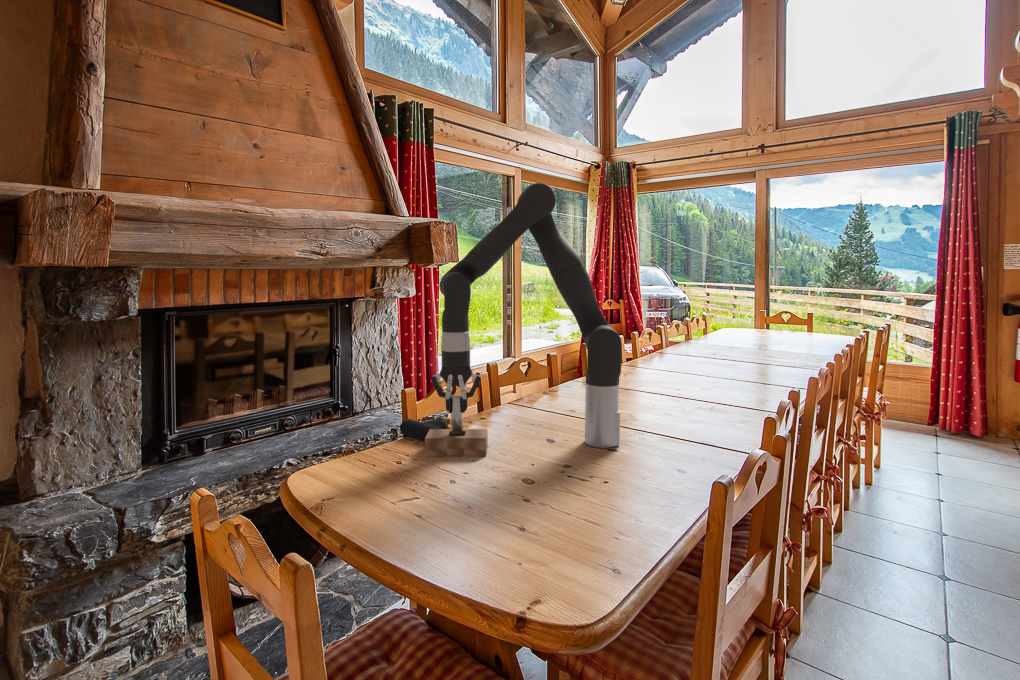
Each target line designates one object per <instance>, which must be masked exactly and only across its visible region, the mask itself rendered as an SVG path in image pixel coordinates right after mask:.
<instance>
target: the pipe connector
mask: <svg viewBox="0 0 1020 680" xmlns="http://www.w3.org/2000/svg"><path fill="white" fill-rule="evenodd" d="M449 425H451V418H447V417H446V418H445V417H444V416H439V417H436V418H433V419H431V420H428V421H424V422H421V421H418V420H414V419H410V418H406V419H404V420H402V421H401V422H400V425H399V431H400V434H401V435H403V436H406V437H408V438H412V439H414V440H419V441H422V442H425V437H426V435H427V433H428V432H429V430H430V429H451V427H449Z"/></svg>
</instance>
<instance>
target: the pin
mask: <svg viewBox="0 0 1020 680" xmlns="http://www.w3.org/2000/svg"><path fill="white" fill-rule="evenodd" d="M450 414H451V415H450V425H451V427H450V428H451V429H452V433H454V434H460V433H462V432H463V429H464V428H463V427H464V425H463V423H464V422H463V419H464V418H463V417H464V416H463V413H462V394H451V413H450Z"/></svg>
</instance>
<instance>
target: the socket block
mask: <svg viewBox="0 0 1020 680" xmlns="http://www.w3.org/2000/svg"><path fill="white" fill-rule="evenodd" d="M488 440H489V438H488V428H463V432H462V433H460V434H454V433H452V429H430V430H429V432H428V433H427V435H426V437H425V441H424V443H425V444H424V452H425V454H424V455H425V457H428V458H429V457H431V458H433V457H439V458H440V457H444V458H445V457H451V458H453V457H454V458H455V457H458V458H459V457H466V458H467V457H487V453H488V442H489V441H488Z"/></svg>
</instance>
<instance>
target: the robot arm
mask: <svg viewBox="0 0 1020 680" xmlns="http://www.w3.org/2000/svg"><path fill="white" fill-rule="evenodd" d="M556 202H557V196H556V193H555V190H554V189H553V188H552V186H550V185H549V184H547V183H544V182H535V183H532V184H530V185H528V186H527V187H526V188H525V189H524V190H523V191H522V192H521V193H520V195H519V197H518V199H517V203H516V205H514V207H513V208H512V210H511V211H510V212H509V213H508V214H507V215H506V216H505V217H504V218H503V219H502V221H500V222H499V223H498V224H497V225H495V227H494V228H493V229H491V230H490V231H489V232H488V233H487V234H485V236H484V237H482V238H481V239H480V241H478V242H477V243H476V245H474V246H473V247H472V248H471V249H470V250H469V251H468V253H467V254H466V255H465V256H464V257H463V258H462V259H461V260H460V261H458V262H457V263H456V264H455V265H454V266H452V267H451V268H450V269H449V270H448V271H447V272H446V273H445V274H443V276H442V277H441V279H440V281H439V291H440V293H441V294H442V296H444V297H443V298H444V299H443V302H444V303H443V304H444V306H443V307H444V308H443V311H442V314H441V315H442V316H441V339H440V341H441V343H440V349H441V370H440V371H439V373H437V374H433V375H432V376H431V377H430V380H431V382H432V384H433V386H434V388H435V391H436V393H437V395H438V397H440V398H444V400H445V411H447V413H450V414H451V395H452V390H453V387H459V389H460V393H461V394H460V395H462V414H464V413H465V412H466V411H467V409H468V399H469V398H472V397H473V396H474V394H475V392H476V390H477V388H478V386H479V384H480V381H481V378H482V376H481V374H476V373H473V371H472V369H471V339H470V330H469V328H470V320H469V318H470V317H469V311H470V305H471V304H470V303H471V295H472V290H471V289H472V288H471V285H473V283H475V282H476V280H477V279H479V278H481V277H483V276H485V275H486V274H487V273H488V272H489V271H490V269H492V268H493V267H494V266H495V264H497V263H498V262H499V260H500V259H502V257H503V256H504V255H505V254H506V253H507V252H508V251H509V250H510V248H511V247H512V246H513V245H514V244H515V243H516V241H517V240H519V239H520V237H521V236H523V235H524V233H526V231H528V230H529V232H530V234H531V236H532V237H533V238H534V239H533V240H535V242H536V244H537V246H538V248H539V251H540V253H541V256H542V259H543V260H544V262H545V265H546V267H547V268H548V271H549V273H550V276H551V278H552V280H553V282H554V284H555V286H556V287H557V289H558V292H559V293H560V295H561V297H562V298H563V299H562V300H563V301H564V302H565V303H566V305H567V307H568V308H569V310H570V311H571V313H572V314H573V316H574V318H575V320H576V322H577V324H578V328H579V331H580V334H581V336H582V339H583V342H584V345H585V348H586V350H587V361H586V363H587V364H586V365H587V367H586V373H585V391H584V392H585V397H584V398H585V399H584V400H585V403H584V405H585V406H584V408H585V410H584V443H585V445H587V446H590V447H593V448H601V449H602V448H603V449H604V448H605V449H606V448H607V449H608V448H613V447H619V446H620V435H621V433H620V429H621V428H620V427H621V426H620V425H621V412H620V410H619V403H620V401H619V400H620V399H619V395H620V391H619V390H620V376H621V375H622V373H621V372H622V360H623V359H622V357H623V356H622V354H623V344H622V338H621V335H620V334H619V332H617V331H616V330H615V329H614V328H612V326H610V324H609V322H608V321H607V319H606V318H605V316H604V314H603V312H602V310H601V309H600V306H599V304H598V303H599V302H598V301H597V298H596V294H595V290H594V287H593V284H592V280H591V278H590V275H589V273H588V270H587V268H586V266H585V265H584V262H583V260H582V258H581V256H580V255H579V253H578V252H577V251H576V250H575V249H574V247H573V246H572V245H571V243H569V241H568V240H567V239H566V238H565V237H564V235H563V234H562V233H561V231H560V230H559V228H558V226H557V223H556V221H555V219H554V216H553V214H552V212H553V211H554V209H555V207H556V204H557V203H556ZM441 378H442V380H443V381H444V382H445V384H446V387H445V388H446V389H445V391H444V388H443V387H442V385H441V383H440V382H441ZM470 378H472V379H471V382H472V383H473V384H472V386H471V389H470V390H469V391H467V384H466V383H467V382H468V381H469V380H470Z"/></svg>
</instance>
